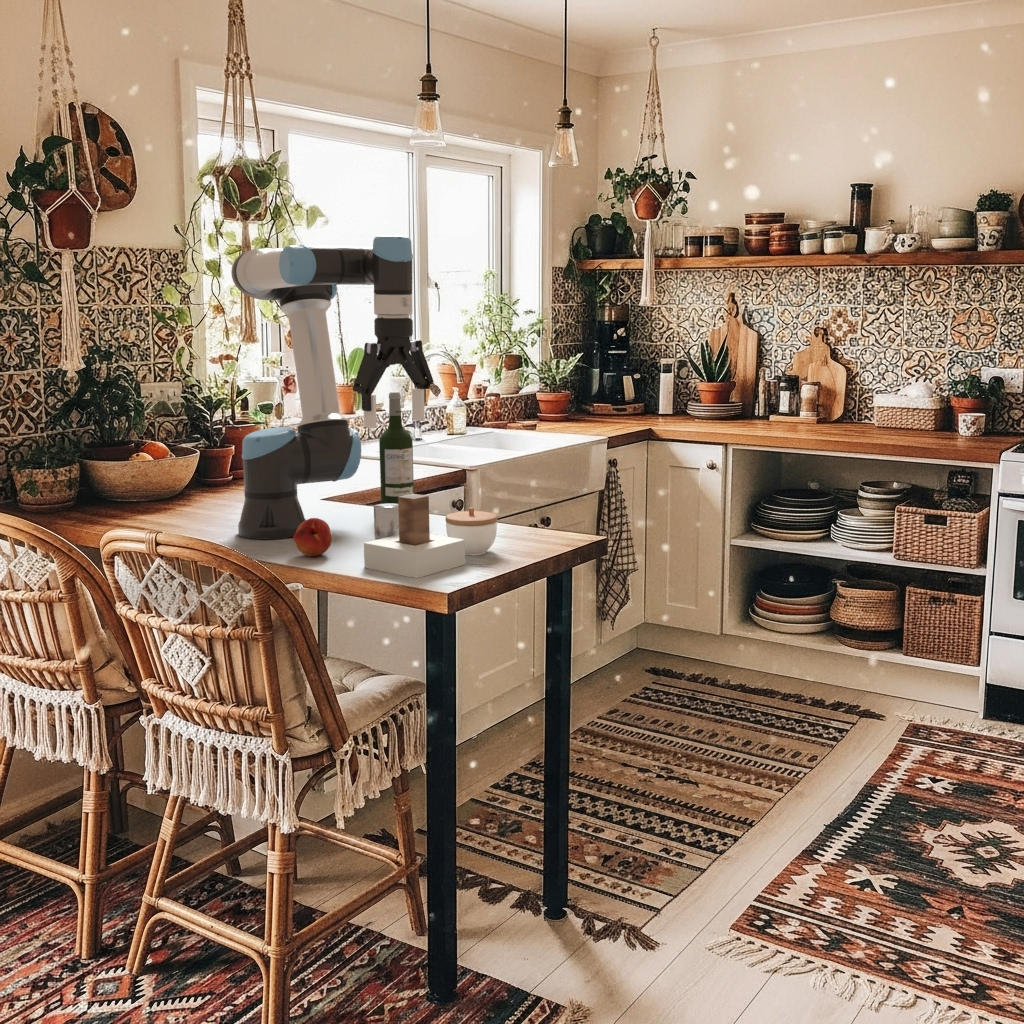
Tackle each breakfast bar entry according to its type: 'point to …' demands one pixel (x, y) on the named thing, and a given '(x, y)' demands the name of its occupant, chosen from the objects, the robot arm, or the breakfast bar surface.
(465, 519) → the lidded jar
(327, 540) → the fruit
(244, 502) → the robot arm
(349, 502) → the breakfast bar surface
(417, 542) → the square bit
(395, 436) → the wine bottle
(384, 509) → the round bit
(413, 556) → the socket block
